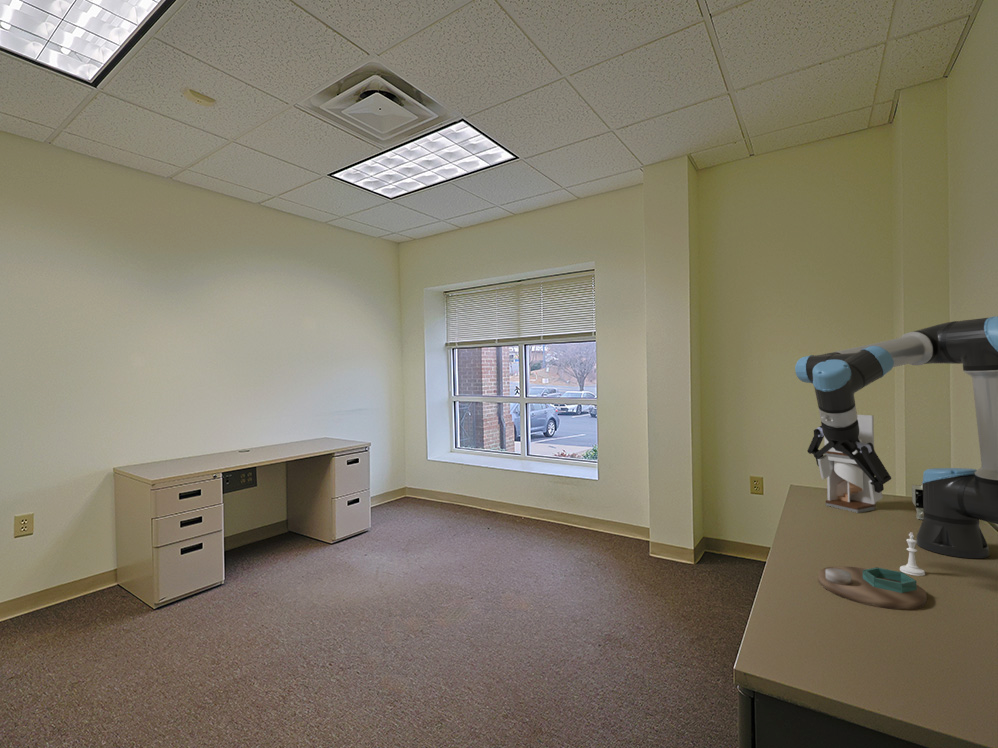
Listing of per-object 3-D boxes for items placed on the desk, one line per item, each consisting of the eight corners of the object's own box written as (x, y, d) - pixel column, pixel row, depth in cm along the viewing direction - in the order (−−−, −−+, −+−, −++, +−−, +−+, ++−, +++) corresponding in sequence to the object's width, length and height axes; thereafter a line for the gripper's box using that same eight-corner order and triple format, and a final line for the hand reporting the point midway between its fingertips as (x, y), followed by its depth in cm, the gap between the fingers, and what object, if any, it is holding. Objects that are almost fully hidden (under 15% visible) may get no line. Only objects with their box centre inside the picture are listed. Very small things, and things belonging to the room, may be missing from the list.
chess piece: (919, 569, 124) (918, 530, 124) (929, 577, 120) (928, 536, 120) (896, 567, 126) (895, 528, 126) (904, 574, 121) (904, 534, 121)
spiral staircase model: (825, 505, 187) (823, 414, 187) (843, 502, 191) (841, 413, 191) (857, 513, 176) (855, 416, 177) (875, 509, 180) (873, 415, 181)
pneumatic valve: (916, 522, 164) (915, 486, 164) (912, 514, 174) (911, 480, 174) (938, 525, 161) (937, 488, 161) (932, 516, 171) (931, 482, 171)
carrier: (892, 575, 121) (892, 561, 121) (950, 613, 101) (949, 596, 101) (804, 569, 125) (803, 556, 125) (843, 605, 105) (842, 589, 105)
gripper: (784, 411, 130) (797, 474, 137) (879, 445, 107) (889, 519, 114) (805, 399, 132) (817, 461, 139) (904, 429, 108) (913, 503, 116)
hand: (850, 487), depth 126 cm, fingers open, 13 cm apart
